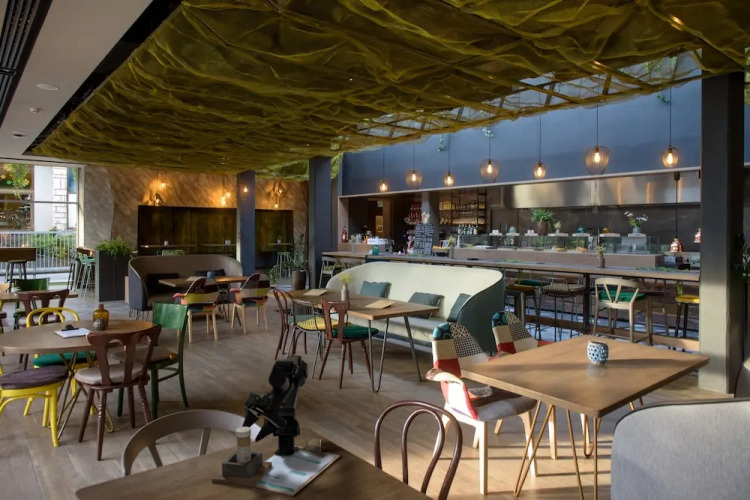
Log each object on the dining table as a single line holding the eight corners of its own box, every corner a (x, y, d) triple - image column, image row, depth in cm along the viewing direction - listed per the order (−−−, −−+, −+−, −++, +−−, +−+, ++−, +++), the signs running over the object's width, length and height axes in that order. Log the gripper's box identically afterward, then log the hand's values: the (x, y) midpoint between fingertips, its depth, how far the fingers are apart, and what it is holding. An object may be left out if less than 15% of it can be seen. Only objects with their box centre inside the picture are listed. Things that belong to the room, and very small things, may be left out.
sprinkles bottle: (249, 465, 169) (248, 425, 168) (253, 471, 165) (252, 430, 164) (235, 468, 167) (234, 427, 166) (238, 475, 163) (238, 433, 162)
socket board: (232, 462, 174) (232, 446, 174) (271, 465, 172) (271, 450, 171) (211, 482, 161) (211, 466, 160) (254, 486, 158) (254, 470, 158)
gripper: (248, 376, 177) (218, 416, 170) (277, 388, 163) (246, 432, 157) (268, 393, 183) (240, 433, 176) (298, 407, 169) (269, 450, 162)
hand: (248, 436), depth 168 cm, fingers open, 9 cm apart
